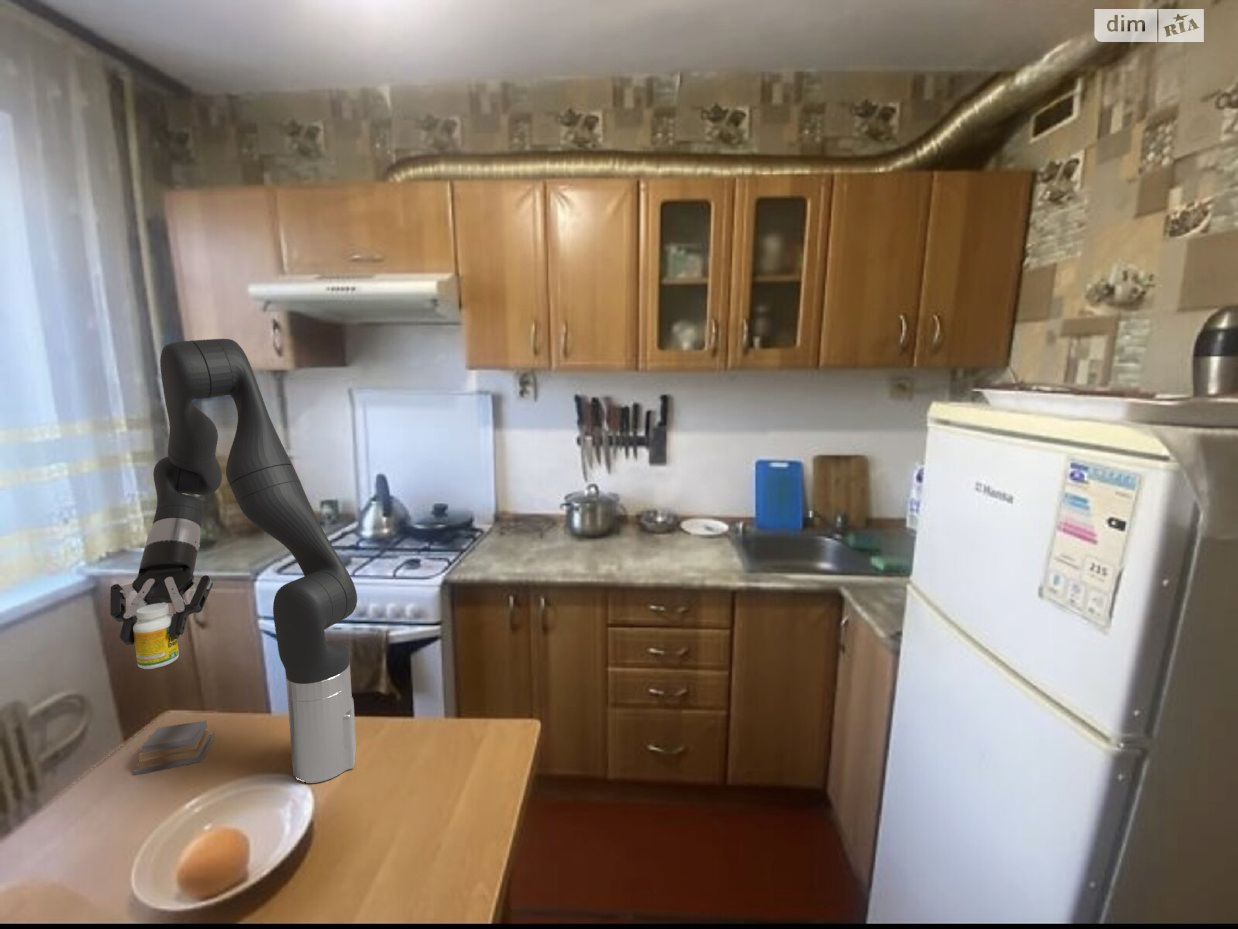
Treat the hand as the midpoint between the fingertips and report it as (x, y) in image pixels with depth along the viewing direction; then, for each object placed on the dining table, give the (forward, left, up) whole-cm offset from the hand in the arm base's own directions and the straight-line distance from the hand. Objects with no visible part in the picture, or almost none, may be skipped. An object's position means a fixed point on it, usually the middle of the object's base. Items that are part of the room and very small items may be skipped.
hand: (151, 639), depth 87 cm
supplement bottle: (0, -2, -5) cm, 5 cm away
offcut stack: (-1, -2, -22) cm, 22 cm away
